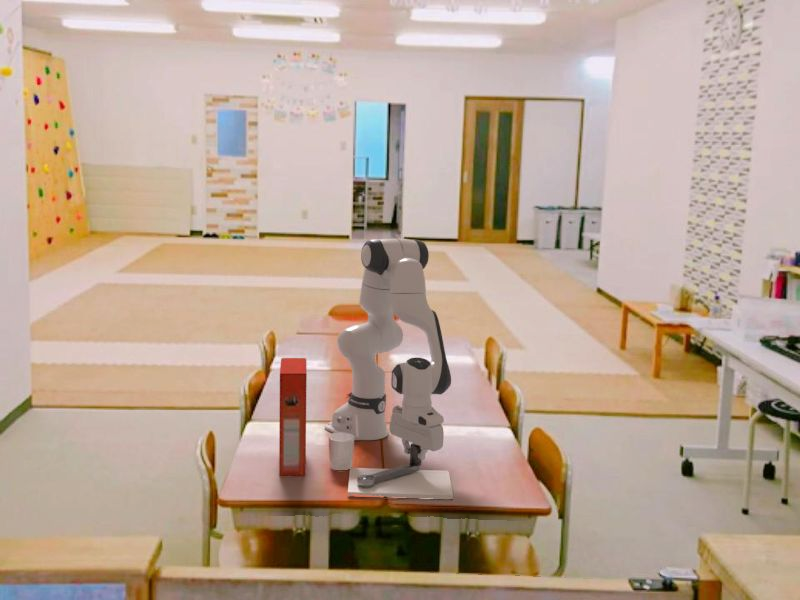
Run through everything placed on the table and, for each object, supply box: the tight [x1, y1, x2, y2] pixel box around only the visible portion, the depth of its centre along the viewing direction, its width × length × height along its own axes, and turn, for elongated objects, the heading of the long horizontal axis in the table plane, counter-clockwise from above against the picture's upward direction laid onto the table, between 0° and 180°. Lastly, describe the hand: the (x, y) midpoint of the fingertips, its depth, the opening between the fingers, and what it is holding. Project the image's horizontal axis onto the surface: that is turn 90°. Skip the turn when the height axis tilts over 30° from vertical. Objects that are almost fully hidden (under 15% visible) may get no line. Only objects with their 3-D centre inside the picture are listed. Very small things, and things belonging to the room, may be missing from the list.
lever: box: [357, 442, 423, 487], centre depth 256 cm, size 23×5×8 cm, turn 130°
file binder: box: [278, 357, 308, 477], centre depth 265 cm, size 8×17×32 cm, turn 6°
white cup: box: [328, 432, 355, 471], centre depth 267 cm, size 8×8×10 cm
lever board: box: [347, 467, 454, 500], centre depth 256 cm, size 30×18×2 cm, turn 91°
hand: (414, 456), depth 263 cm, fingers open, 5 cm apart
